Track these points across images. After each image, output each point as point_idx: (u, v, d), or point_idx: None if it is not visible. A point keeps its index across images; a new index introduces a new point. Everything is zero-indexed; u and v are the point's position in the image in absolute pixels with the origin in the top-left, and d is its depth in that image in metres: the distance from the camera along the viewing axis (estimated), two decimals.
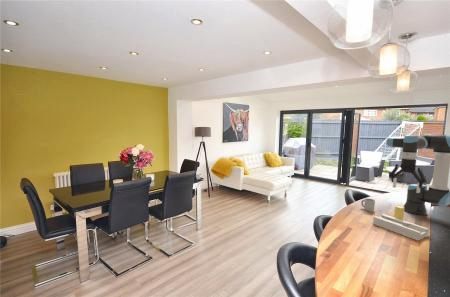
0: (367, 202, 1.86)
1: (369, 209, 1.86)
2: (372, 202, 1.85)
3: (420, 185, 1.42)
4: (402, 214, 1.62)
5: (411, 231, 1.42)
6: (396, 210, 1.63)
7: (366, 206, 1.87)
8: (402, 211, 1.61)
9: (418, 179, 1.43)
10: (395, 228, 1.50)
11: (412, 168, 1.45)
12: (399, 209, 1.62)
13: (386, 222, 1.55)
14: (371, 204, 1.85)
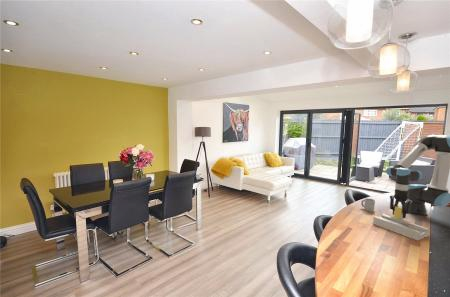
0: (367, 202, 1.86)
1: (369, 209, 1.86)
2: (372, 202, 1.85)
3: (404, 215, 1.60)
4: None
5: (411, 231, 1.42)
6: (396, 210, 1.63)
7: (366, 206, 1.87)
8: (402, 211, 1.61)
9: (403, 210, 1.60)
10: (395, 228, 1.50)
11: (404, 198, 1.59)
12: (399, 209, 1.62)
13: (386, 222, 1.55)
14: (371, 204, 1.85)
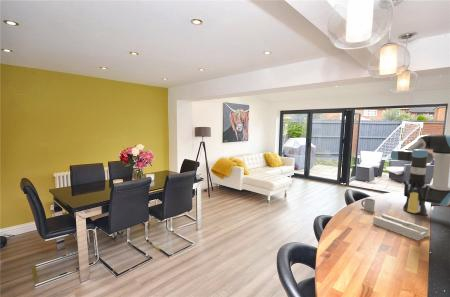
0: (367, 202, 1.86)
1: (369, 209, 1.86)
2: (372, 202, 1.85)
3: (420, 203, 1.42)
4: None
5: (411, 231, 1.42)
6: (411, 197, 1.45)
7: (366, 206, 1.87)
8: (418, 198, 1.43)
9: (420, 197, 1.41)
10: (395, 228, 1.50)
11: (421, 183, 1.41)
12: (415, 196, 1.43)
13: (386, 222, 1.55)
14: (371, 204, 1.85)
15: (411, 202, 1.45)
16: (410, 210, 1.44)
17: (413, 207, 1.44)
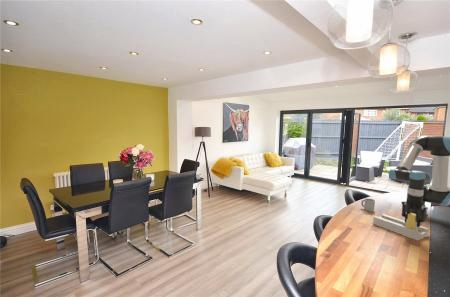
0: (367, 202, 1.86)
1: (369, 209, 1.86)
2: (372, 202, 1.85)
3: (418, 224, 1.43)
4: None
5: (411, 231, 1.42)
6: (409, 218, 1.46)
7: (366, 206, 1.87)
8: (416, 219, 1.44)
9: (418, 218, 1.43)
10: (395, 228, 1.50)
11: (418, 205, 1.42)
12: (412, 217, 1.44)
13: (386, 222, 1.55)
14: (371, 204, 1.85)
15: (409, 223, 1.46)
16: None
17: (411, 228, 1.45)
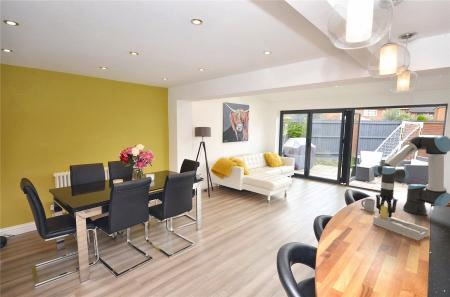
0: (367, 202, 1.86)
1: (369, 209, 1.86)
2: (372, 202, 1.85)
3: (389, 215, 1.58)
4: None
5: (411, 231, 1.42)
6: (382, 209, 1.61)
7: (366, 206, 1.87)
8: None
9: (389, 209, 1.57)
10: (395, 228, 1.50)
11: (390, 197, 1.57)
12: (385, 208, 1.59)
13: (386, 222, 1.55)
14: (371, 204, 1.85)
15: (382, 214, 1.61)
16: None
17: None
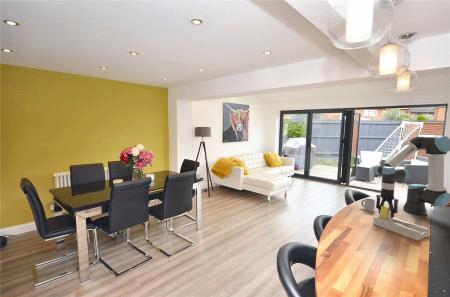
0: (367, 202, 1.86)
1: (369, 209, 1.86)
2: (372, 202, 1.85)
3: (392, 215, 1.56)
4: (388, 214, 1.59)
5: (411, 231, 1.42)
6: (382, 210, 1.60)
7: (366, 206, 1.87)
8: (388, 211, 1.59)
9: (391, 209, 1.56)
10: (395, 228, 1.50)
11: (390, 198, 1.56)
12: (385, 209, 1.59)
13: (386, 222, 1.55)
14: (371, 204, 1.85)
15: (382, 214, 1.61)
16: None
17: None
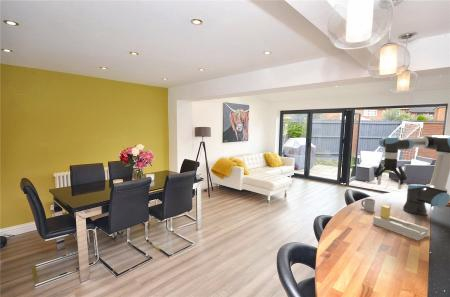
0: (367, 202, 1.86)
1: (369, 209, 1.86)
2: (372, 202, 1.85)
3: (401, 182, 1.57)
4: (388, 214, 1.59)
5: (411, 231, 1.42)
6: (382, 210, 1.60)
7: (366, 206, 1.87)
8: (388, 211, 1.59)
9: (399, 177, 1.57)
10: (395, 228, 1.50)
11: (394, 167, 1.60)
12: (385, 209, 1.59)
13: (386, 222, 1.55)
14: (371, 204, 1.85)
15: (382, 214, 1.61)
16: None
17: None
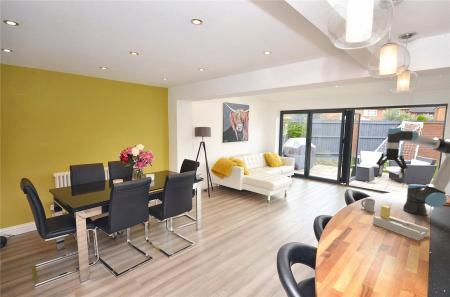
0: (367, 202, 1.86)
1: (369, 209, 1.86)
2: (372, 202, 1.85)
3: (402, 171, 1.64)
4: (388, 214, 1.59)
5: (411, 231, 1.42)
6: (382, 210, 1.60)
7: (366, 206, 1.87)
8: (388, 211, 1.59)
9: (400, 166, 1.64)
10: (395, 228, 1.50)
11: (395, 156, 1.67)
12: (385, 209, 1.59)
13: (386, 222, 1.55)
14: (371, 204, 1.85)
15: (382, 214, 1.61)
16: None
17: None
